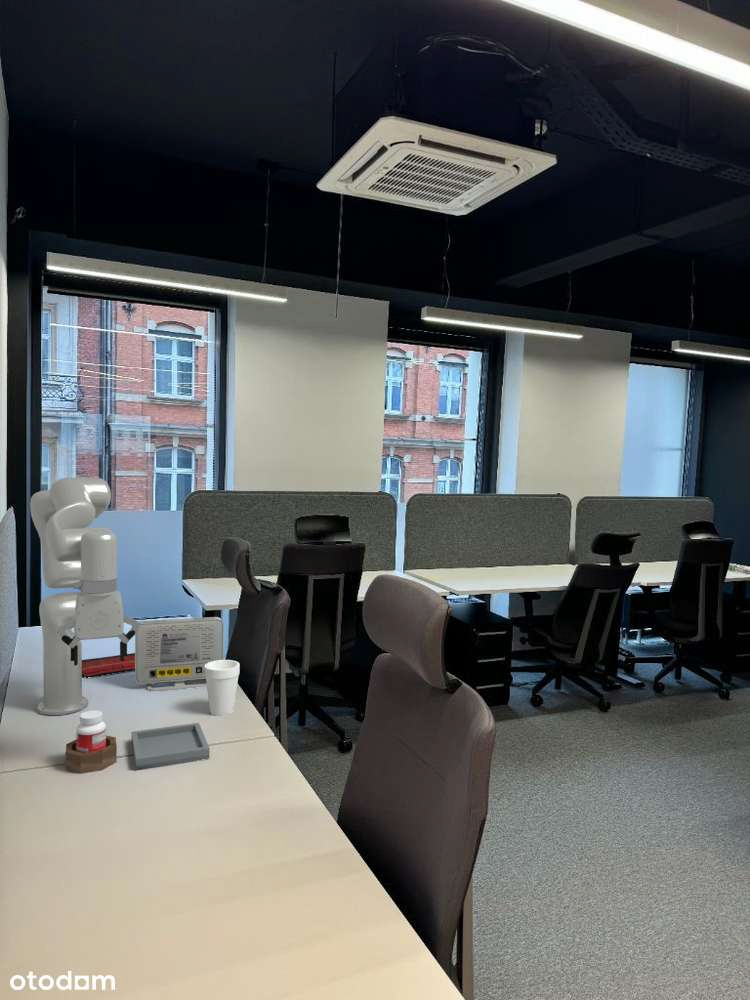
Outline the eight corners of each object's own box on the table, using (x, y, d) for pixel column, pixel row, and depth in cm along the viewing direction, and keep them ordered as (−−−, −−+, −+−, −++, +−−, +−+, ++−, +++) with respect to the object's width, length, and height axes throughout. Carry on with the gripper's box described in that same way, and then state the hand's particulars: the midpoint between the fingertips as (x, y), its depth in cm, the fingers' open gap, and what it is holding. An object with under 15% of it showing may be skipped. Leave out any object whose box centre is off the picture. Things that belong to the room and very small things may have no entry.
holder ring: (66, 755, 152) (66, 738, 151) (115, 748, 156) (115, 732, 155) (65, 775, 142) (65, 757, 142) (117, 767, 146) (117, 750, 146)
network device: (220, 677, 209) (221, 615, 208) (223, 686, 201) (224, 621, 200) (135, 683, 201) (135, 619, 200) (134, 693, 193) (134, 626, 192)
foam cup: (230, 719, 175) (230, 671, 174) (198, 716, 177) (198, 668, 176) (244, 706, 184) (244, 661, 183) (213, 703, 186) (214, 658, 185)
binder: (74, 659, 217) (140, 651, 229) (74, 666, 218) (140, 657, 229) (83, 675, 204) (152, 665, 216) (83, 682, 204) (152, 672, 216)
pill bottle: (71, 762, 148) (71, 714, 148) (97, 753, 153) (97, 706, 153) (84, 770, 144) (84, 721, 144) (111, 761, 149) (111, 713, 149)
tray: (131, 741, 160) (131, 731, 160) (198, 732, 166) (198, 722, 166) (135, 770, 145) (135, 759, 145) (209, 758, 152) (209, 748, 151)
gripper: (55, 592, 141) (56, 670, 141) (141, 587, 147) (141, 662, 148) (57, 585, 147) (57, 661, 148) (138, 581, 154) (138, 653, 155)
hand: (99, 661), depth 148 cm, fingers open, 9 cm apart
